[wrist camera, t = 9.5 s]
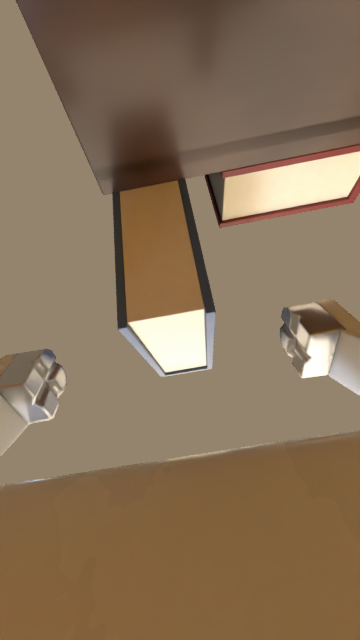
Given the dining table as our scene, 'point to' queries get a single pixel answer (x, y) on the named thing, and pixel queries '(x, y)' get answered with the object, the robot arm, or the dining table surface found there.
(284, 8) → the bookcase
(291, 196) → the dictionary
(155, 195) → the slate book
